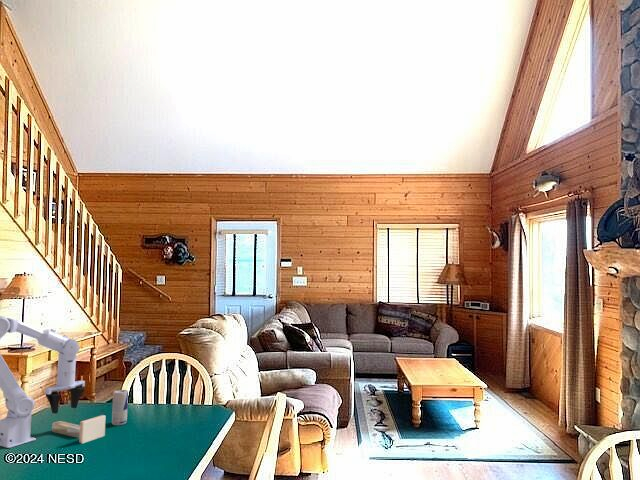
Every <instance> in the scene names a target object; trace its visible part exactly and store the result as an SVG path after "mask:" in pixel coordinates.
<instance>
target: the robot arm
mask: <svg viewBox="0 0 640 480" xmlns="http://www.w3.org/2000/svg"><path fill="white" fill-rule="evenodd" d="M15 332H16V333H19V334H22V335H25V336H28V337H30V338H33V339H36V340H37V342H38V344H39V345H40V346H41V347H45V348H47V349H49V350H52V351H55V352H57V353H58V359H57V374H56V375H57V377H56V384H55V385H51V386H48V387H45V389H44V394H45V397H46V399H47V400H48V402H49V405H50V409H51V413H52V414H54V415H55V414H58V412H59V404H60V399H61V397H62V394H61V393H59V392H64V391H68V390H69V391H70V392H69V394H70V408H72V409H77V407H78V404H79V401H80V398H81V396H82V395H83V394H84V391H85V387H86V385H85V384H86V381H85V380H77V381H76V364H77V353H79V351H80V348H81V347H80V345H79V343H78V341H77V340H76V339H72V338H69V337H68V335H67V334H64V335H63V334H62V333H61V334H60V333H59V332H56V330H55V329H53V328H51V329H44V330H40V329H38V328H36V327H34V326H32V325H30V324H27V323H26V322H23V321H21V320H18V319H14V318H9V317H6V316H4V315H3V316H2V315H0V340H1V339H3V337H5V335H6V334H7V333H9V334H10V333H11V334H12V333H15ZM10 369H11V368H10V367H9V366H8V364H7V362H6V361H5V359H4V357H3V356H2V354H1V353H0V390H1V391H2V395H3V397H4V400H5V402H4V403H5V407H6V409H7V410H8V411H7V412H6V413H7V414H6V416H5V417H3V418H1V419H0V447H4V448H6V449H7V448H8V449H10V448H14V447H17V446H20V445H23V444H26V443H27V444H28V443H30V442H34V441H36V440H37V438H35V437H32V436H31V429H32V416H33V415H32V412H33V410H34V409H35V406H36V405H35V404H36V402H35V400H34V399H33V398H32V397H31V396H29V395H27V393H26V392H25V390H24V389H23V388H22V387H21V386H20V385H19V383H18V380H17V379H16V377H15V376H14V374H13V372H12V371H11V370H10Z"/></svg>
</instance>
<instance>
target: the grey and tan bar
mask: <svg viewBox="0 0 640 480" xmlns="http://www.w3.org/2000/svg"><path fill="white" fill-rule="evenodd" d="M51 432H53V433H57V434H61V435H64V436H69V437H73V438H77V439H79V438H80V424H75V423H71V422H67V421H62V420H59V421H55V422H52V426H51Z"/></svg>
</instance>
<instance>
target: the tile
mask: <svg viewBox="0 0 640 480" xmlns="http://www.w3.org/2000/svg"><path fill="white" fill-rule="evenodd" d="M106 418H107V417H106V415H104V414H101V415H98V416H95V417H92V418H91V417H90V418H89V419H85V420H82V421H80V422H79V425H80V438H78V440H79V441H78V442H79V443H80V444H82V445H83V444H85V443H89V442H91V441H94V440H97V439H100V438H103V437H105V436H106ZM79 443H78V444H79Z"/></svg>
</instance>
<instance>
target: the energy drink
mask: <svg viewBox="0 0 640 480" xmlns="http://www.w3.org/2000/svg"><path fill="white" fill-rule="evenodd" d="M128 402H129V392H128V390H127V389H118V390H114V391H113V393H112V411H111V425H113V426H122V425H125V424H126V423H127V421H128V407H129V406H128V405H129V404H128Z"/></svg>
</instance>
